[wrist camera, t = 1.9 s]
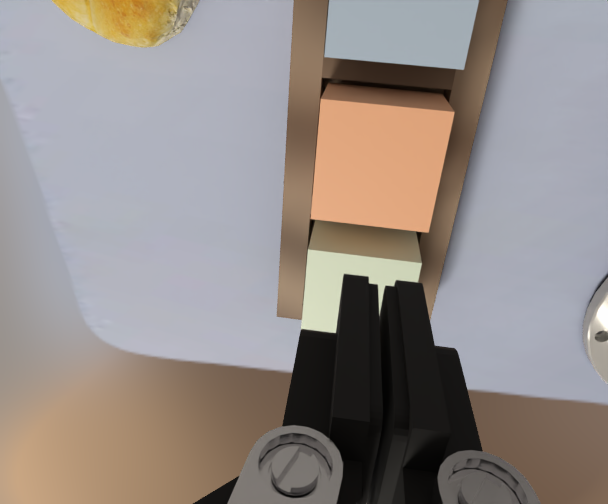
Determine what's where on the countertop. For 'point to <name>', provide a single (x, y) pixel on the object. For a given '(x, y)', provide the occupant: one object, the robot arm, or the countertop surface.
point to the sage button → (353, 265)
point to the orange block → (379, 156)
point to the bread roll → (131, 18)
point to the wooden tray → (322, 70)
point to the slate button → (401, 31)
